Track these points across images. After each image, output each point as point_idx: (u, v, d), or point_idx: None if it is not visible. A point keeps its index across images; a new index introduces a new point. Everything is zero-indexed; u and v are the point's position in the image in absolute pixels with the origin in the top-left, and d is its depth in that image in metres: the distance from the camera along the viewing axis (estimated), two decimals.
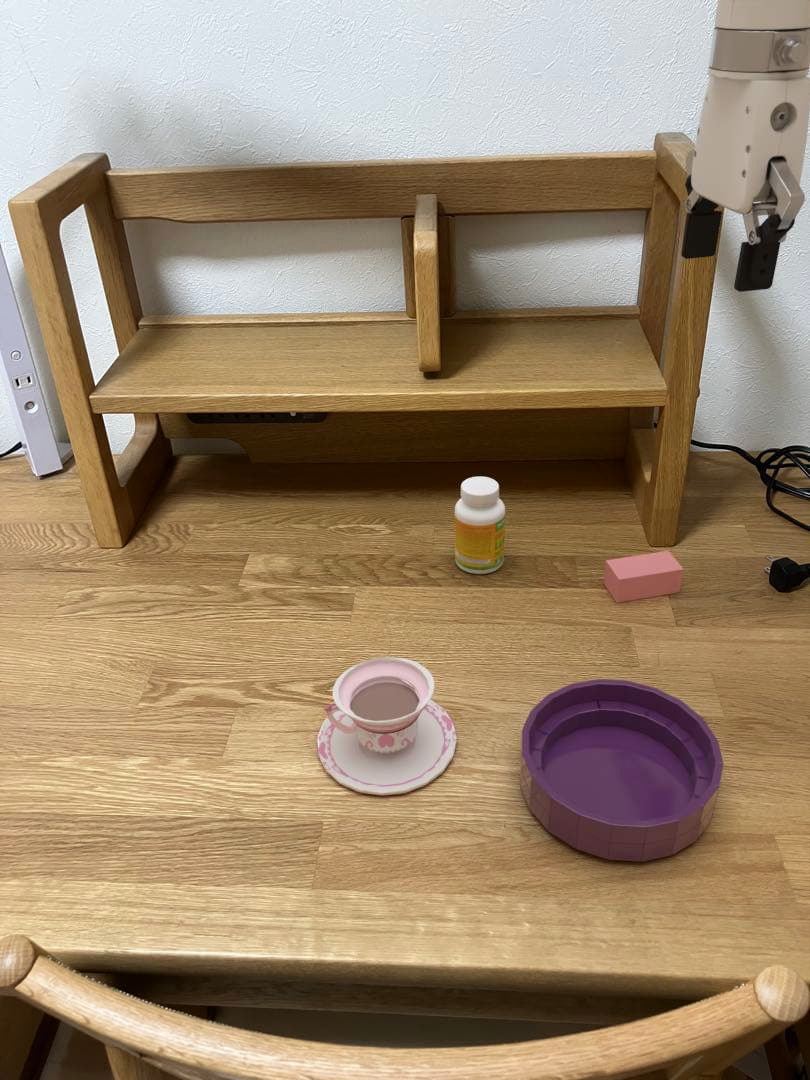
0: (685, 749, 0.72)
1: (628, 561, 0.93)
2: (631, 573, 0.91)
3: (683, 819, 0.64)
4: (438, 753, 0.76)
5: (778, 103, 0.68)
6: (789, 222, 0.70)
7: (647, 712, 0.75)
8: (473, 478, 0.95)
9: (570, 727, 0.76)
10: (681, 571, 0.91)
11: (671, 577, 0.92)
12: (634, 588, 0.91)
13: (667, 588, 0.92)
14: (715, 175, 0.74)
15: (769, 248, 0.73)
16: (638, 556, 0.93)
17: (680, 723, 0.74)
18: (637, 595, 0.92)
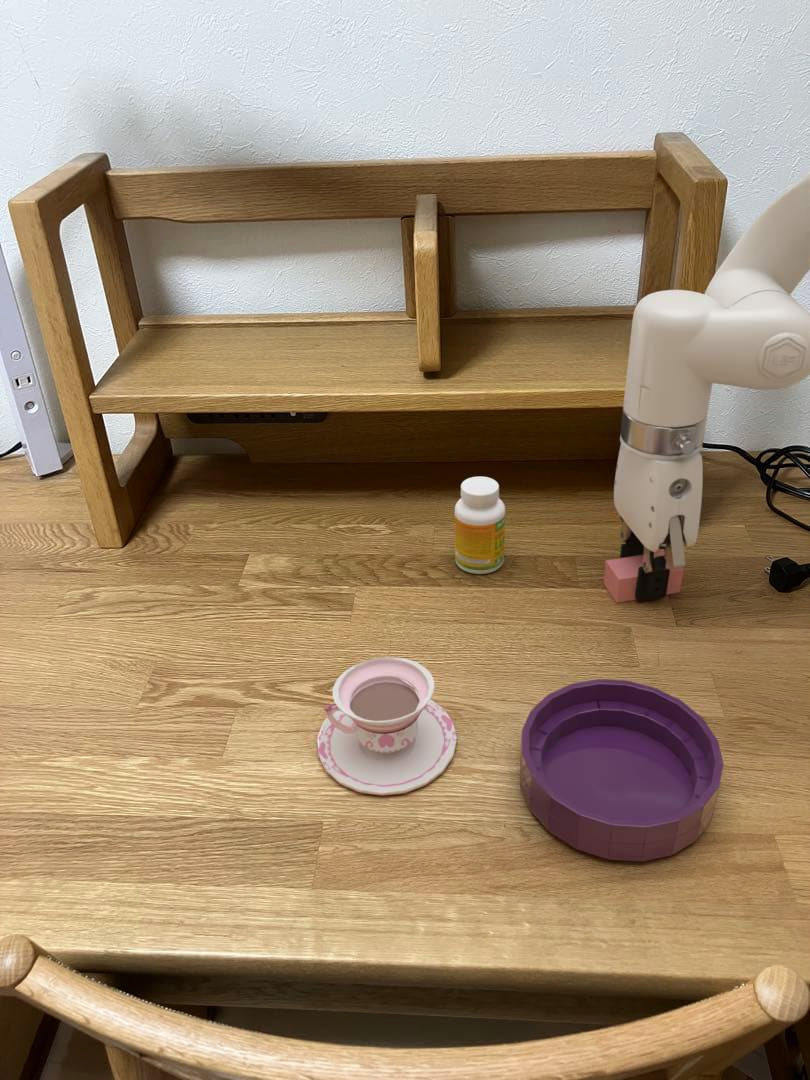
0: (685, 749, 0.72)
1: (628, 561, 0.93)
2: (630, 573, 0.91)
3: (683, 819, 0.64)
4: (438, 753, 0.76)
5: (675, 479, 0.81)
6: None
7: (647, 712, 0.75)
8: (473, 478, 0.95)
9: (570, 727, 0.76)
10: (681, 571, 0.91)
11: (671, 577, 0.92)
12: (634, 588, 0.91)
13: None
14: (630, 511, 0.88)
15: (661, 574, 0.89)
16: (638, 556, 0.93)
17: (680, 723, 0.74)
18: None
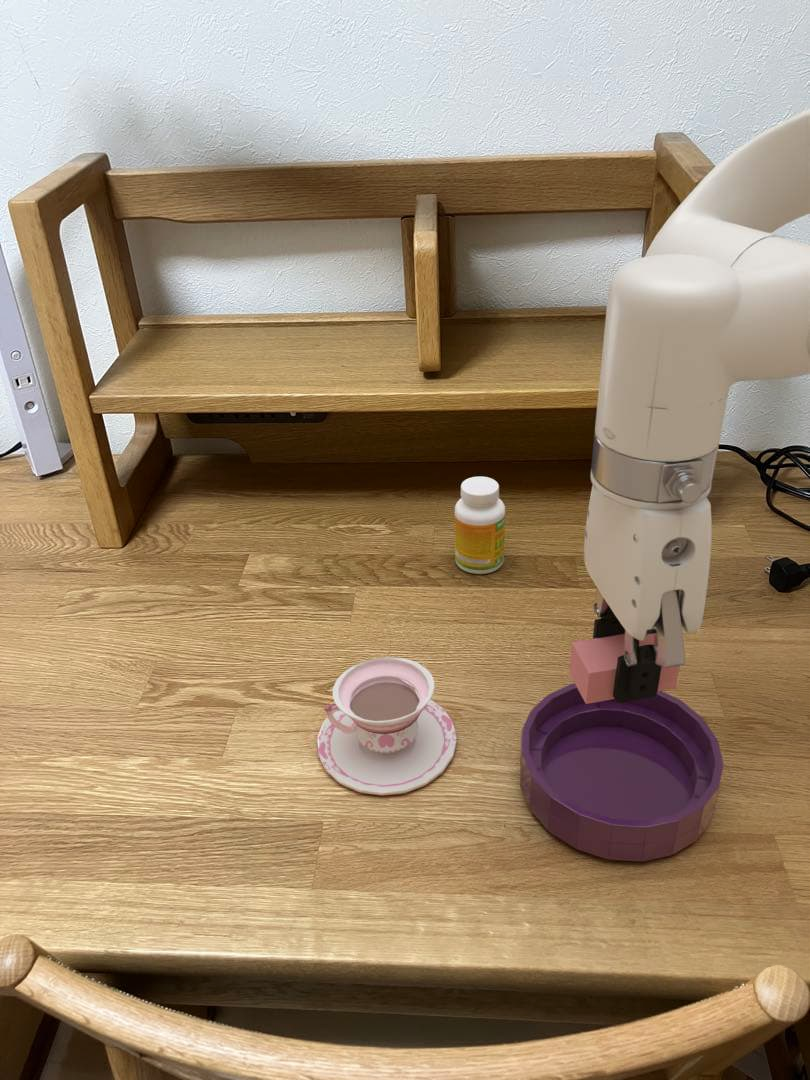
0: (685, 749, 0.72)
1: (604, 645, 0.66)
2: (606, 663, 0.64)
3: (683, 819, 0.64)
4: (438, 753, 0.76)
5: (671, 538, 0.54)
6: None
7: (647, 712, 0.75)
8: (473, 478, 0.95)
9: (570, 727, 0.76)
10: None
11: (663, 669, 0.65)
12: (611, 684, 0.64)
13: None
14: (605, 579, 0.61)
15: (649, 667, 0.62)
16: (618, 637, 0.66)
17: (680, 723, 0.74)
18: None
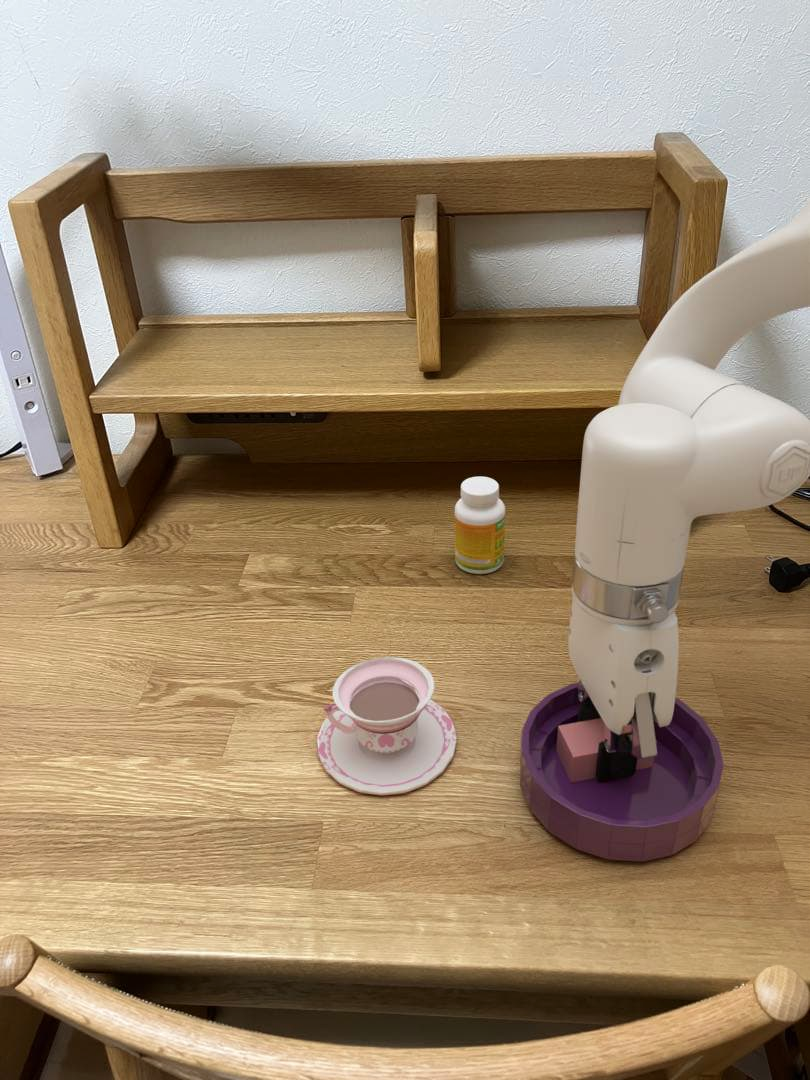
0: (685, 749, 0.72)
1: (587, 728, 0.73)
2: (589, 746, 0.71)
3: (683, 819, 0.64)
4: (438, 753, 0.76)
5: (642, 650, 0.61)
6: None
7: None
8: (473, 478, 0.95)
9: None
10: None
11: None
12: (593, 765, 0.71)
13: None
14: (586, 675, 0.68)
15: (627, 752, 0.69)
16: (600, 720, 0.73)
17: (680, 723, 0.74)
18: None
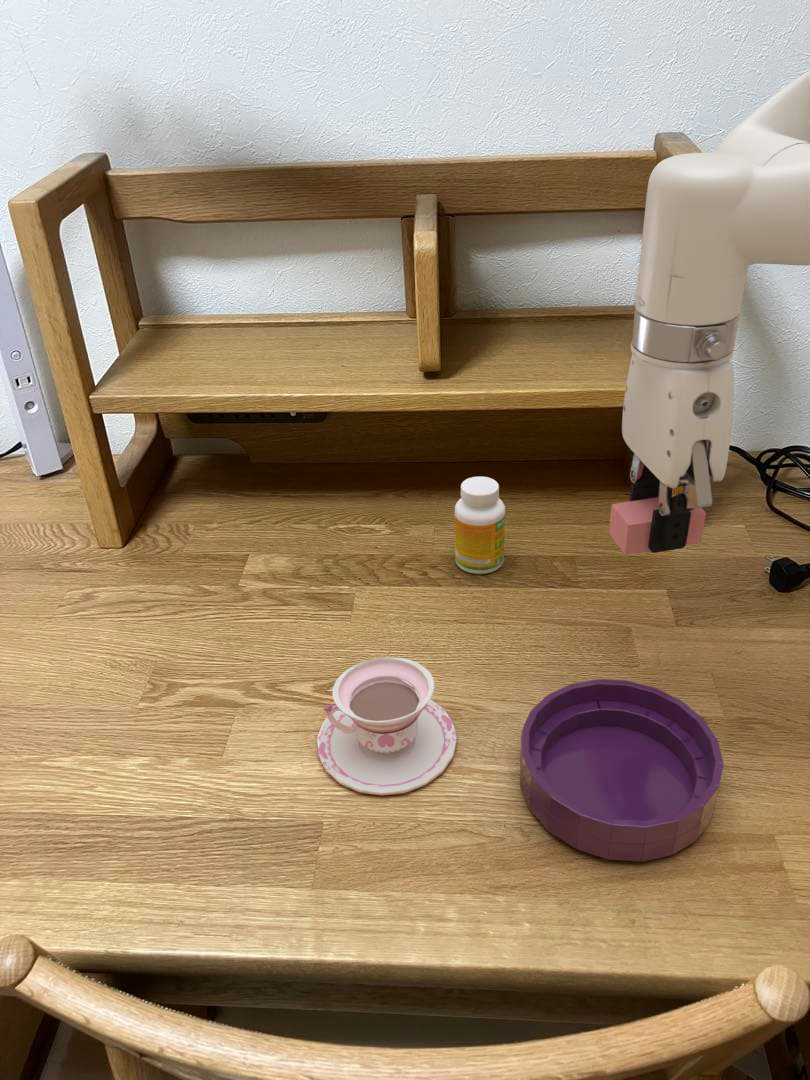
0: (685, 749, 0.72)
1: (639, 505, 0.77)
2: (642, 517, 0.75)
3: (683, 819, 0.64)
4: (438, 753, 0.76)
5: (700, 393, 0.65)
6: None
7: (647, 712, 0.75)
8: (473, 478, 0.95)
9: (570, 727, 0.76)
10: (703, 515, 0.75)
11: (691, 523, 0.76)
12: (646, 536, 0.75)
13: None
14: (642, 441, 0.72)
15: (680, 517, 0.73)
16: (651, 500, 0.77)
17: (680, 723, 0.74)
18: None
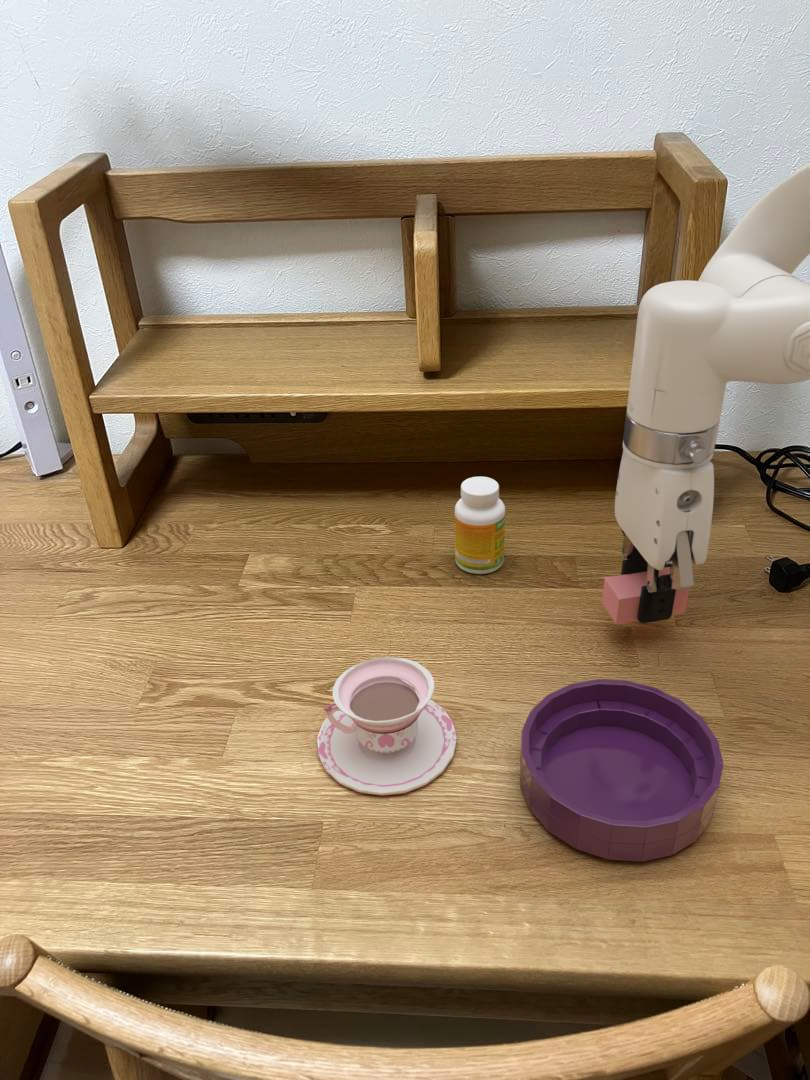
0: (685, 749, 0.72)
1: (629, 579, 0.85)
2: (632, 592, 0.83)
3: (683, 819, 0.64)
4: (438, 753, 0.76)
5: (683, 491, 0.73)
6: None
7: (647, 712, 0.75)
8: (473, 478, 0.95)
9: (570, 727, 0.76)
10: (687, 590, 0.83)
11: (676, 597, 0.83)
12: (636, 608, 0.83)
13: None
14: (632, 525, 0.80)
15: (666, 594, 0.81)
16: (640, 574, 0.85)
17: (680, 723, 0.74)
18: None
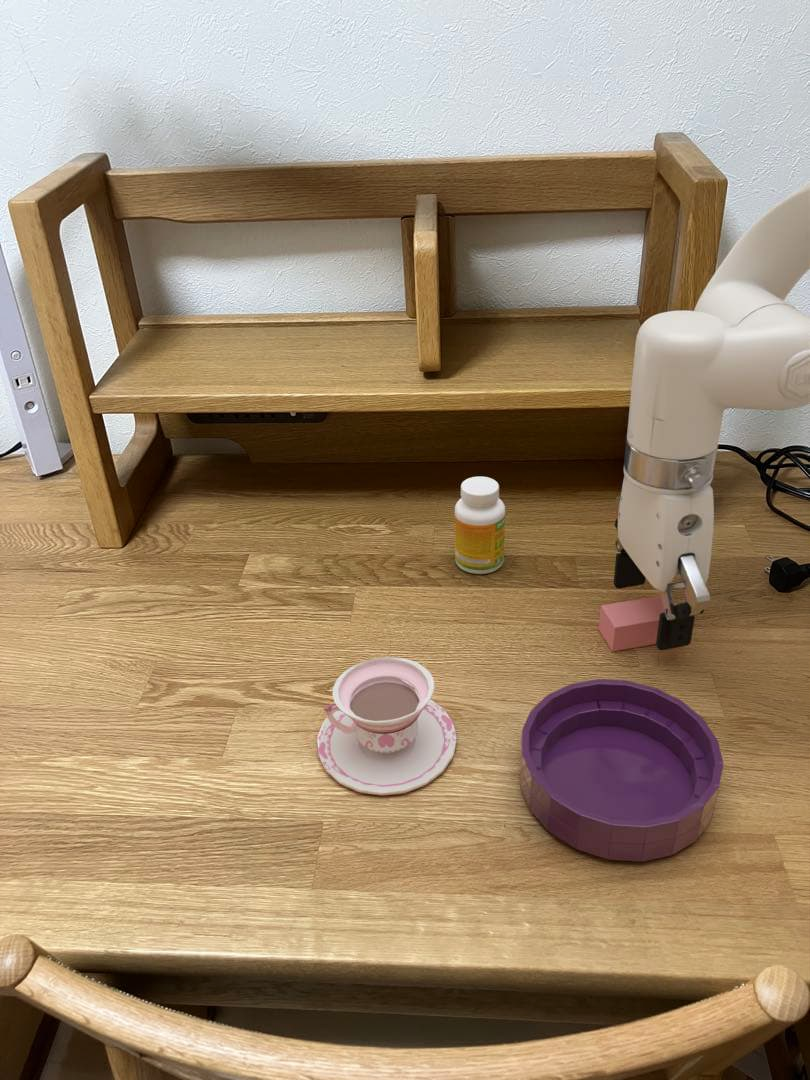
0: (685, 749, 0.72)
1: (625, 607, 0.86)
2: (627, 620, 0.85)
3: (683, 819, 0.64)
4: (438, 753, 0.76)
5: (684, 515, 0.75)
6: (699, 611, 0.77)
7: (647, 712, 0.75)
8: (473, 478, 0.95)
9: (570, 727, 0.76)
10: None
11: None
12: (631, 636, 0.85)
13: None
14: (635, 547, 0.82)
15: (685, 621, 0.80)
16: (636, 601, 0.87)
17: (680, 723, 0.74)
18: (634, 643, 0.86)
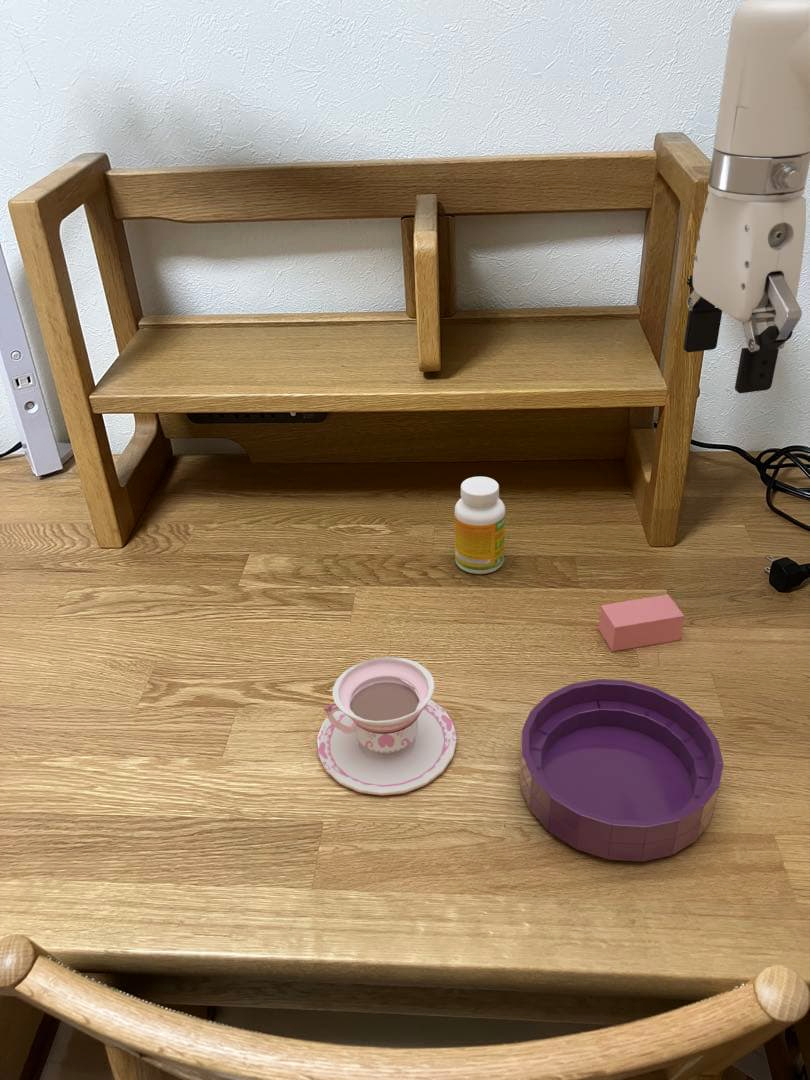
0: (685, 749, 0.72)
1: (625, 607, 0.86)
2: (627, 620, 0.85)
3: (683, 819, 0.64)
4: (438, 753, 0.76)
5: (775, 223, 0.71)
6: (787, 334, 0.73)
7: (647, 712, 0.75)
8: (473, 478, 0.95)
9: (570, 727, 0.76)
10: (682, 618, 0.85)
11: (670, 624, 0.85)
12: (631, 636, 0.85)
13: (666, 635, 0.86)
14: (715, 282, 0.78)
15: (768, 354, 0.76)
16: (636, 601, 0.87)
17: (680, 723, 0.74)
18: (634, 643, 0.86)
